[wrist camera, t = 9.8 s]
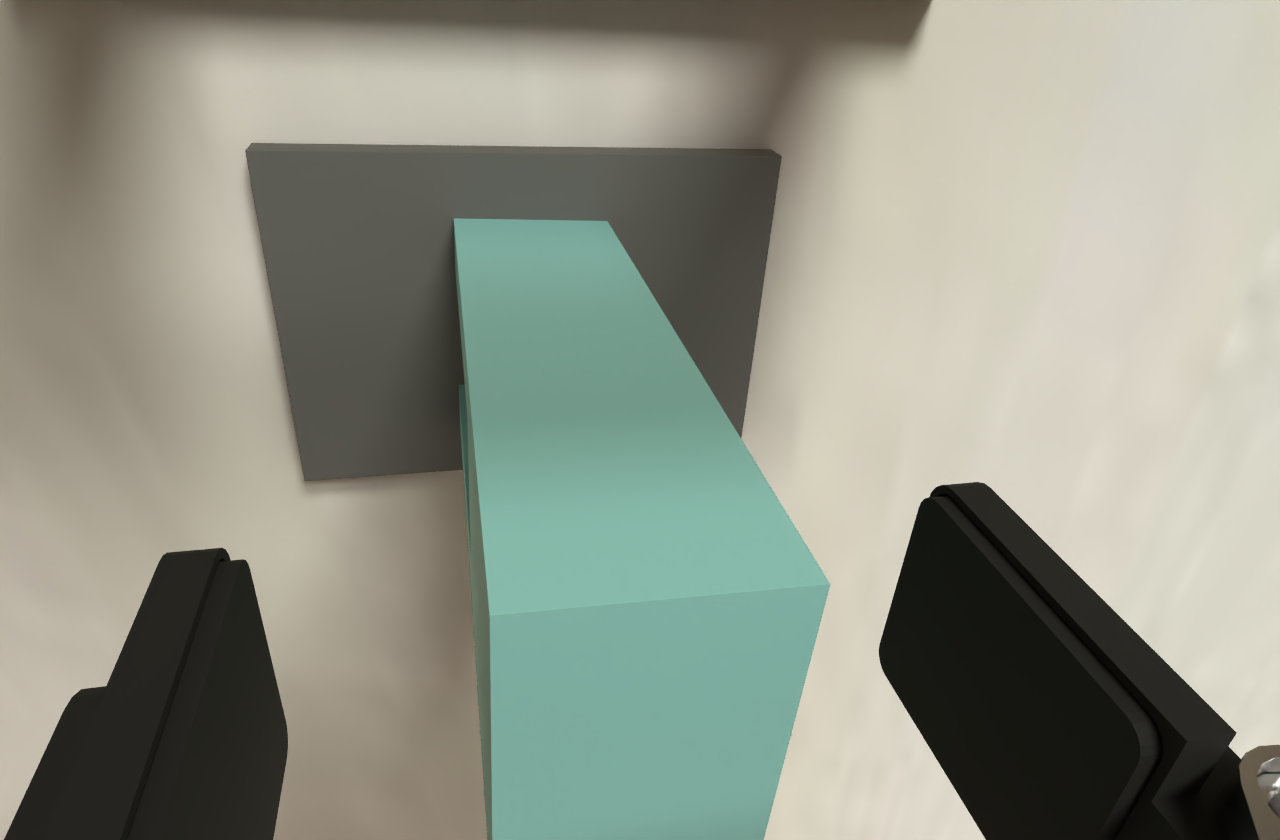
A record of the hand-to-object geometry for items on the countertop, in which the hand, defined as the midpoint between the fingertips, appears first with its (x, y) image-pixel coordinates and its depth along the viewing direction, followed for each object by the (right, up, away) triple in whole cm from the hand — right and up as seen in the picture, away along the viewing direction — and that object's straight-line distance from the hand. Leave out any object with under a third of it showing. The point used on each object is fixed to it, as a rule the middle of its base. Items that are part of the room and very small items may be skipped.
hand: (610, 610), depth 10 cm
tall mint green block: (-2, +4, +7) cm, 9 cm away
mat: (-2, +5, +8) cm, 9 cm away
